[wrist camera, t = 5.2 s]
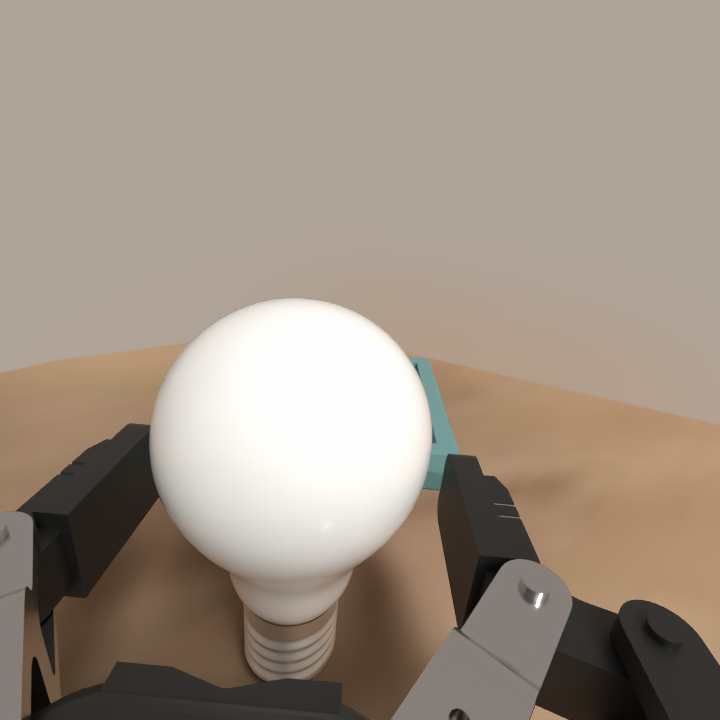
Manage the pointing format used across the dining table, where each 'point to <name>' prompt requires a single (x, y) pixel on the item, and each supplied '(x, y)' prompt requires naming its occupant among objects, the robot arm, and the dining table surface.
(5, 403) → the dining table surface
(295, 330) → the lightbulb
